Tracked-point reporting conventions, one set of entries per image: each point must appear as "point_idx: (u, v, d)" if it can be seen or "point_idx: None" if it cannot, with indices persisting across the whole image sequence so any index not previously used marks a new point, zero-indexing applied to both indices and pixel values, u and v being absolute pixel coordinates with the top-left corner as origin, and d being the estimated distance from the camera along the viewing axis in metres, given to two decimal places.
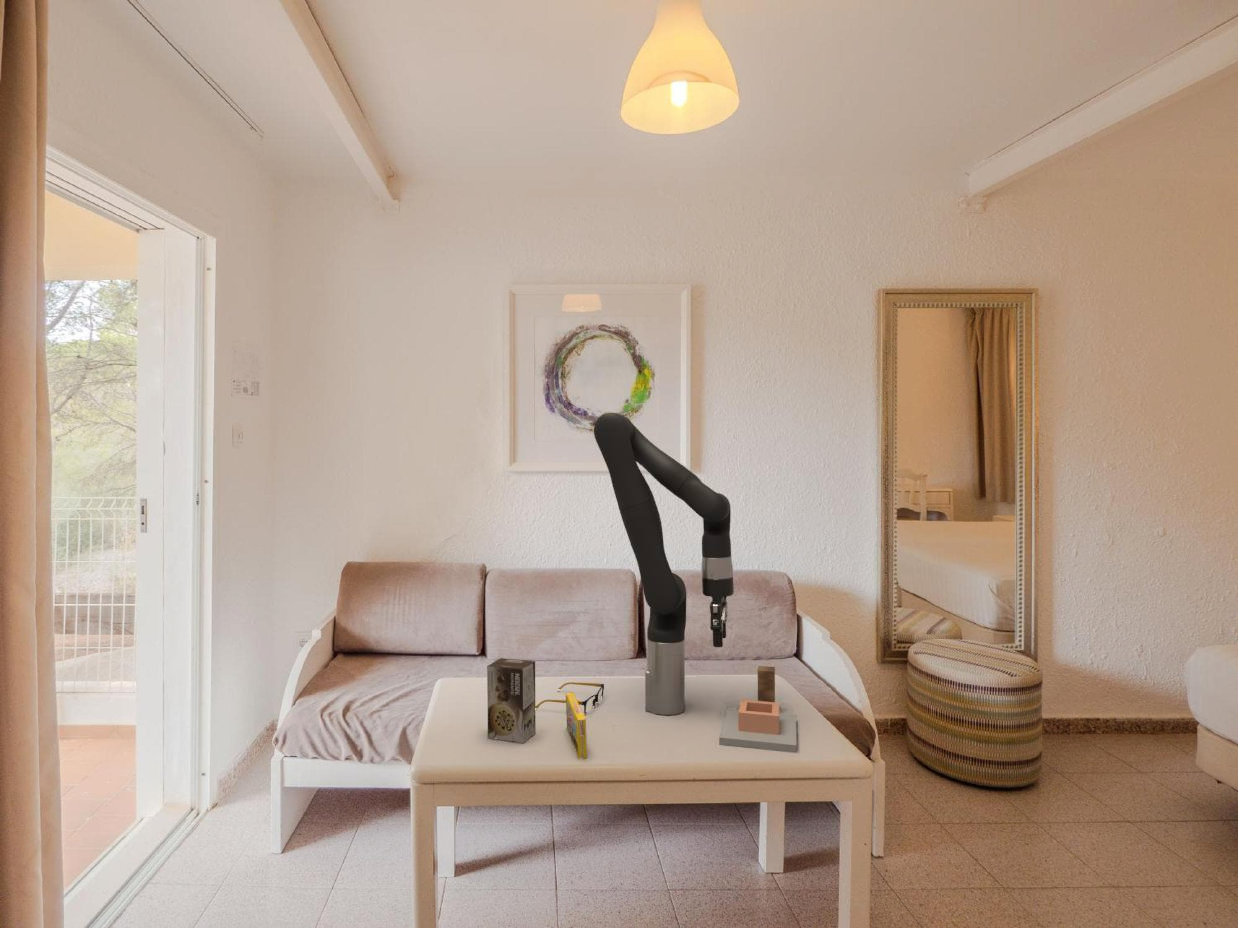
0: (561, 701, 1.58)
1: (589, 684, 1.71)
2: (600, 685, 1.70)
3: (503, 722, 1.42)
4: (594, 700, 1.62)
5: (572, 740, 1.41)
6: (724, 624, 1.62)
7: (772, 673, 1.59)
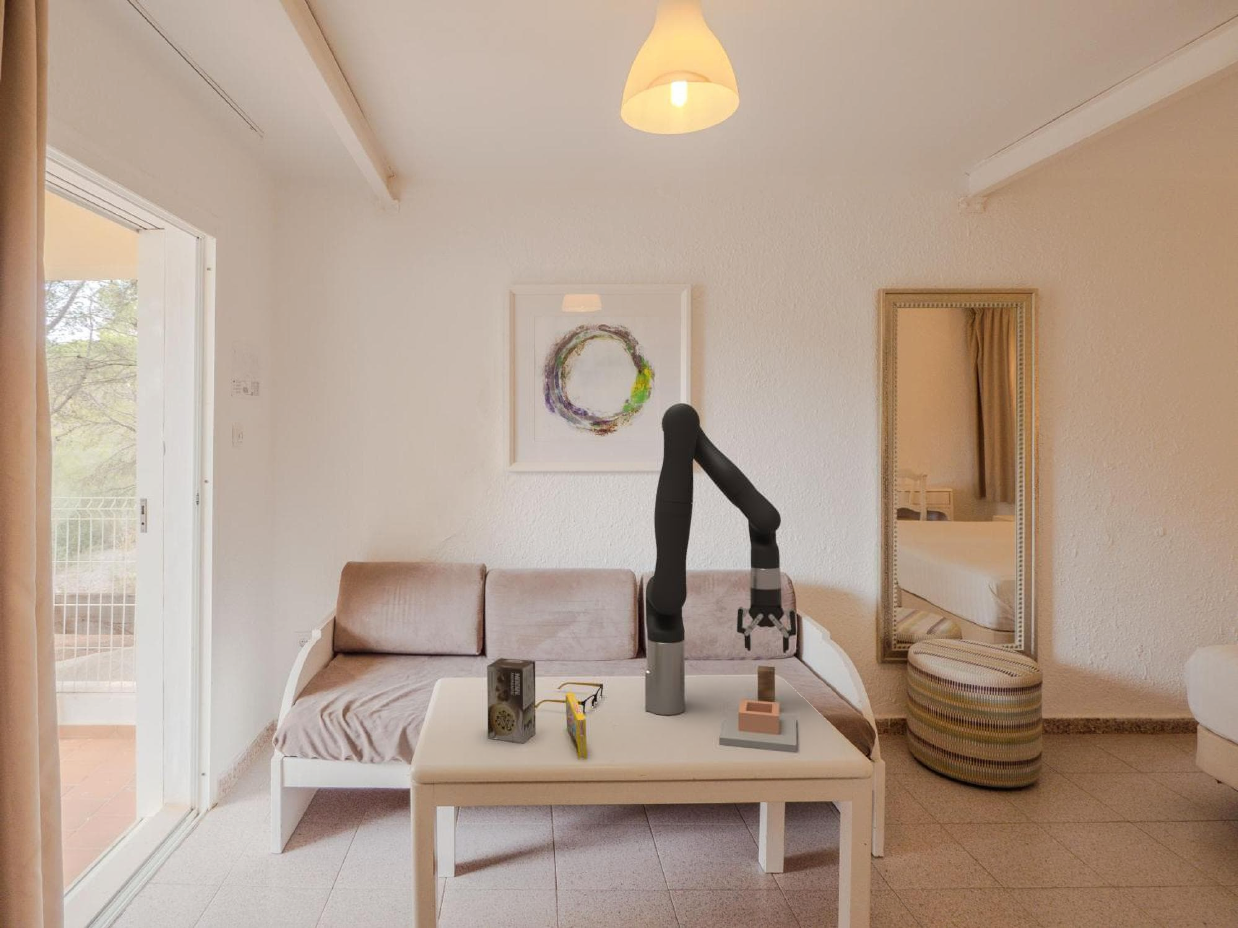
0: (560, 701, 1.59)
1: (588, 684, 1.71)
2: (599, 685, 1.70)
3: (503, 722, 1.42)
4: (593, 700, 1.63)
5: (572, 740, 1.41)
6: (750, 635, 1.63)
7: (772, 673, 1.59)
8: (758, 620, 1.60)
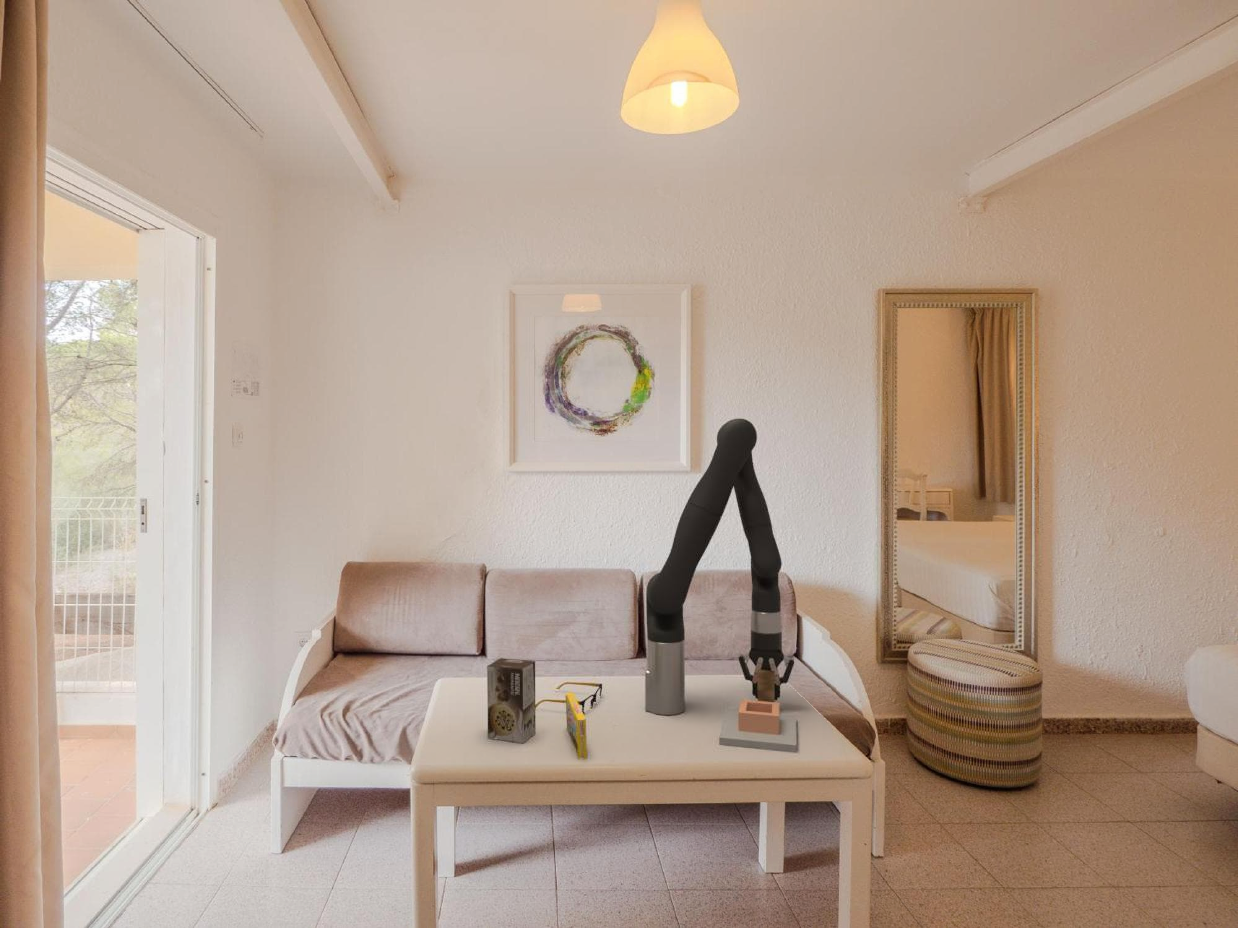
0: (559, 701, 1.59)
1: (587, 684, 1.71)
2: (598, 685, 1.70)
3: (503, 722, 1.42)
4: (592, 700, 1.63)
5: (572, 740, 1.41)
6: None
7: (772, 673, 1.59)
8: (760, 664, 1.60)
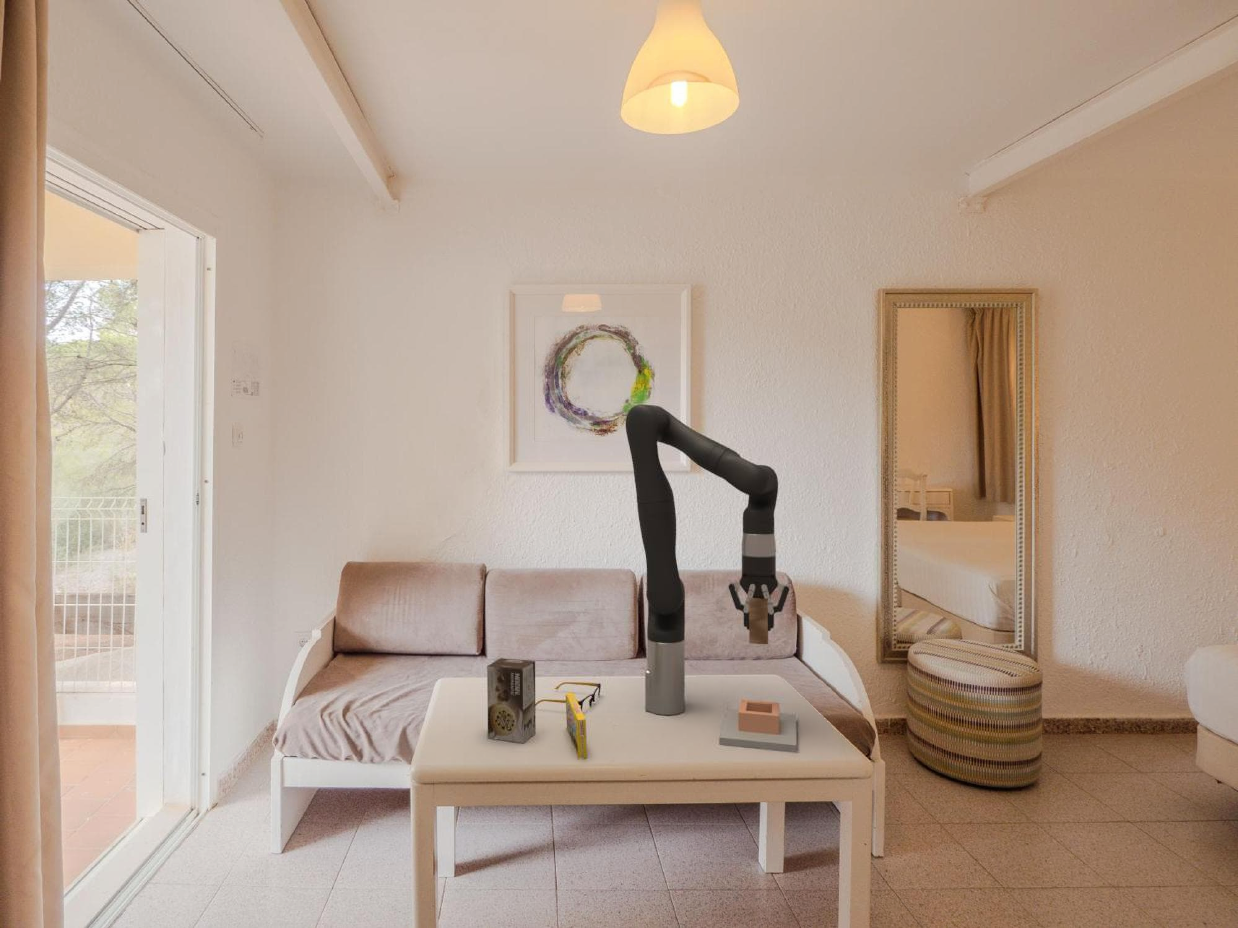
0: (558, 701, 1.59)
1: (586, 684, 1.71)
2: (597, 685, 1.70)
3: (503, 722, 1.42)
4: (591, 700, 1.63)
5: (572, 740, 1.41)
6: None
7: (765, 601, 1.45)
8: (752, 592, 1.46)
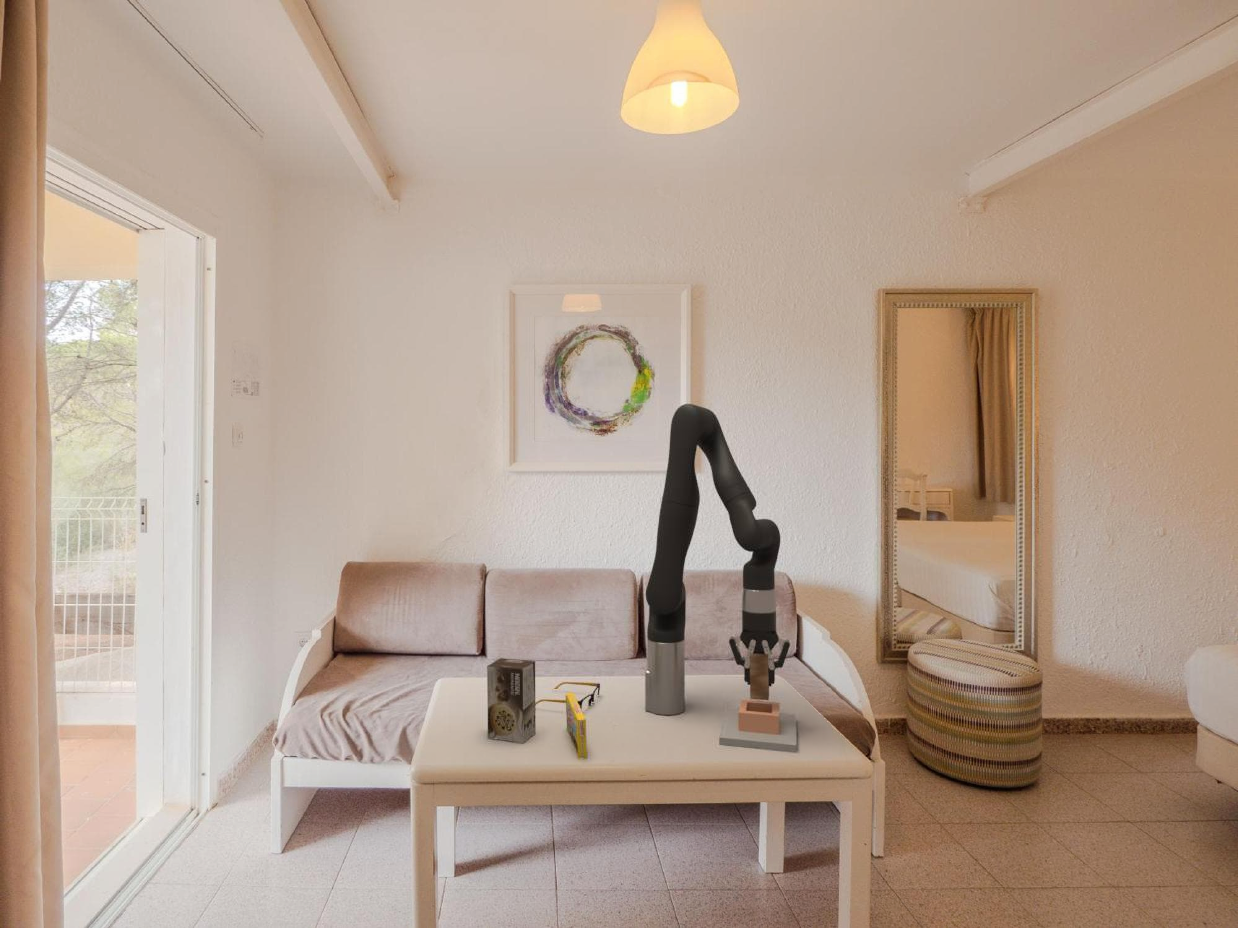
0: (557, 701, 1.59)
1: (585, 684, 1.72)
2: (596, 685, 1.71)
3: (503, 722, 1.42)
4: (590, 700, 1.63)
5: (572, 740, 1.41)
6: None
7: (766, 657, 1.45)
8: (752, 647, 1.46)
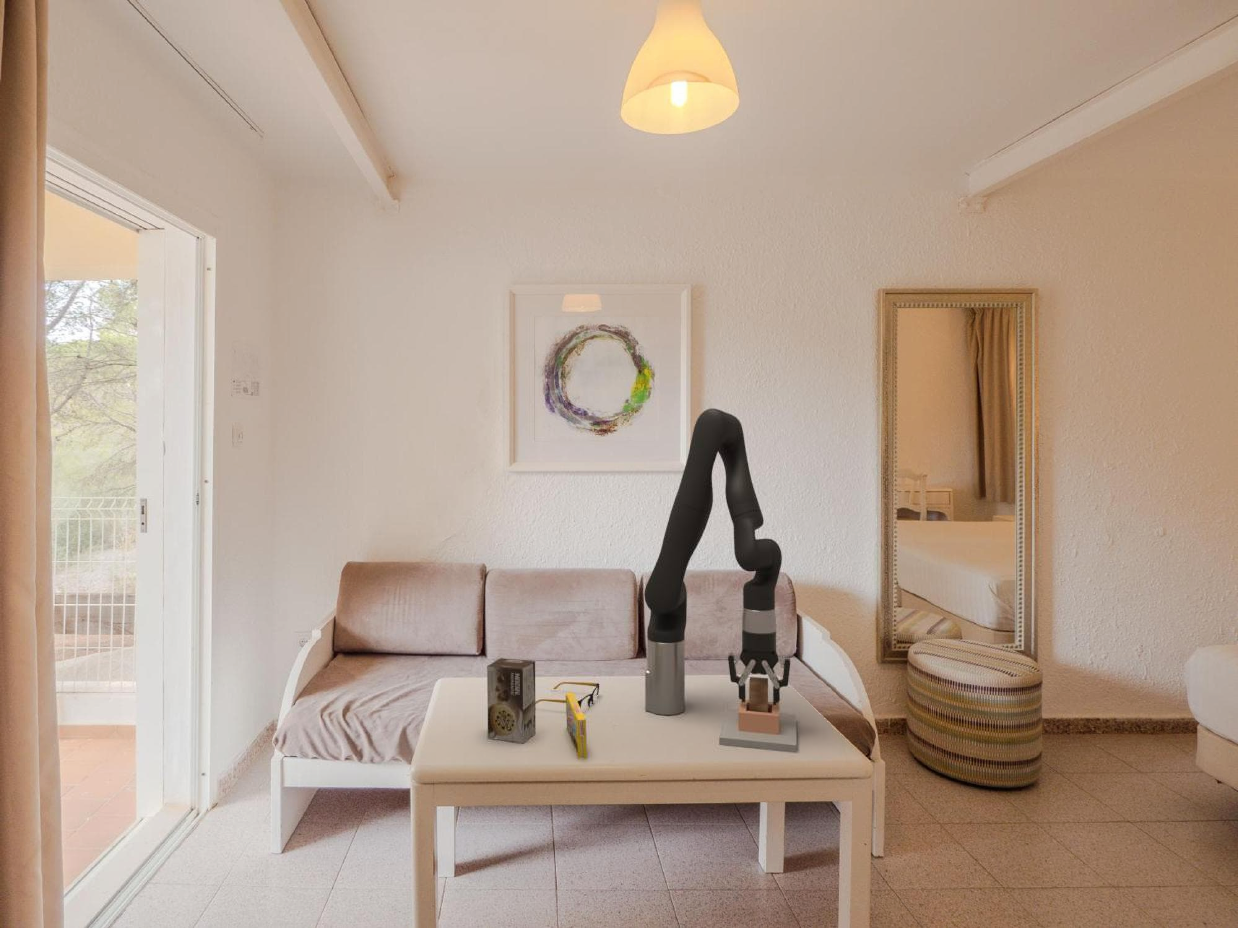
0: (556, 700, 1.59)
1: (584, 684, 1.72)
2: (595, 685, 1.71)
3: (503, 722, 1.42)
4: (589, 700, 1.63)
5: (572, 740, 1.41)
6: None
7: (765, 685, 1.45)
8: (751, 667, 1.45)
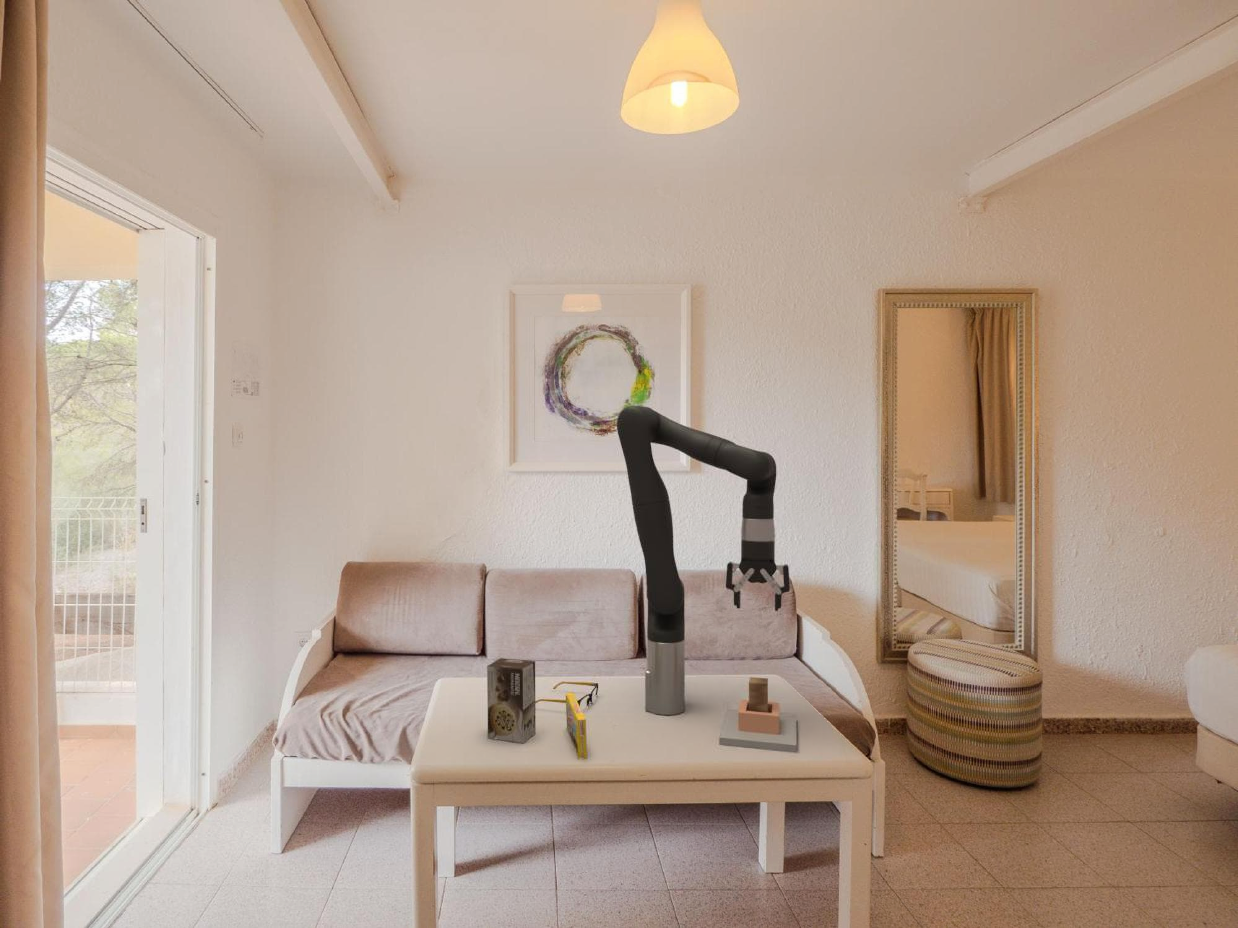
0: (555, 700, 1.59)
1: (583, 683, 1.72)
2: (594, 684, 1.71)
3: (503, 722, 1.42)
4: (588, 699, 1.63)
5: (572, 740, 1.41)
6: (740, 592, 1.51)
7: (765, 685, 1.45)
8: (749, 575, 1.48)
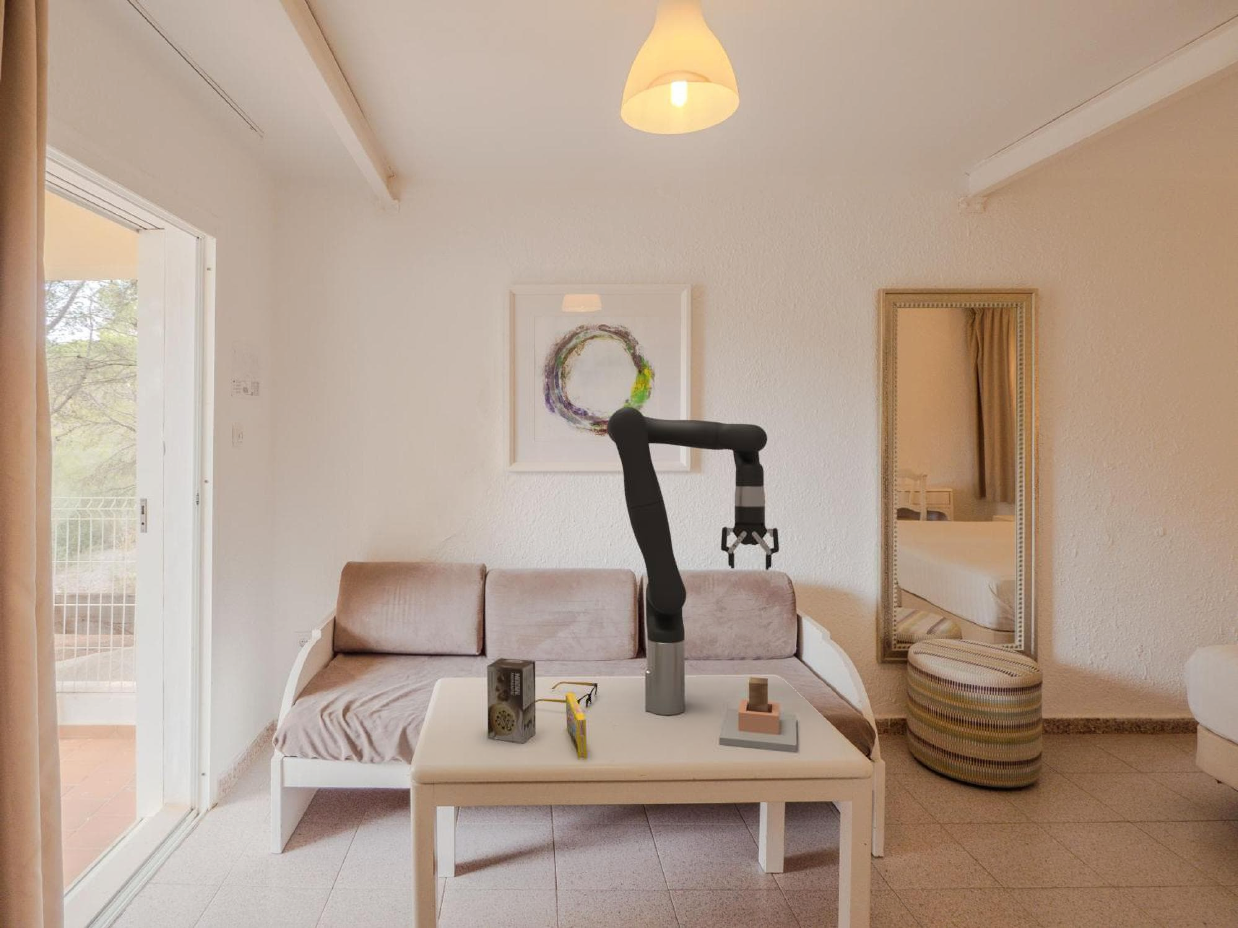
0: (554, 700, 1.59)
1: (583, 683, 1.72)
2: (593, 684, 1.71)
3: (503, 722, 1.42)
4: (587, 699, 1.63)
5: (572, 740, 1.41)
6: None
7: (765, 685, 1.45)
8: (742, 538, 1.63)
